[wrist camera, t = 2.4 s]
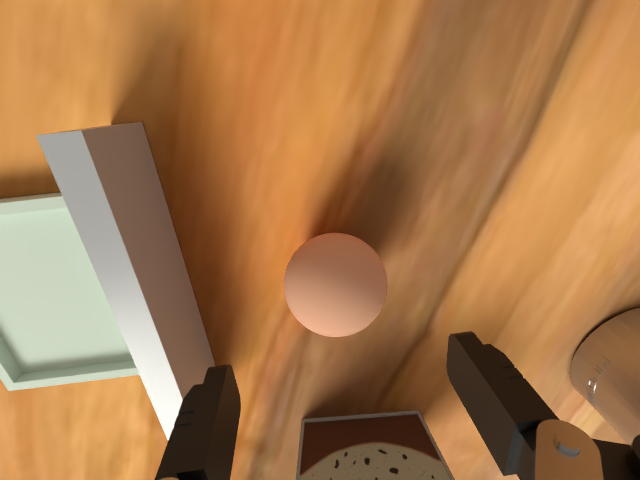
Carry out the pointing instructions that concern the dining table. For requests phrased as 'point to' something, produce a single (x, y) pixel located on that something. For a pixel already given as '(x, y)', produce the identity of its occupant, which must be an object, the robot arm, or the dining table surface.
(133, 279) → the low wall
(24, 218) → the sage tray
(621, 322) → the robot arm
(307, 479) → the food container
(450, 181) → the dining table surface
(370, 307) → the ball
